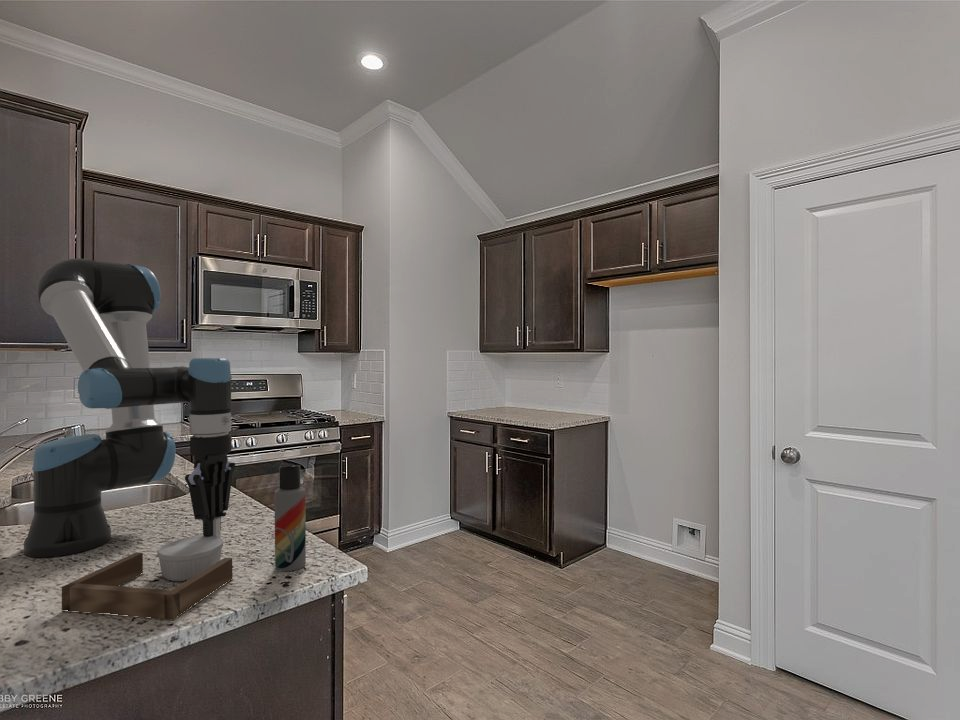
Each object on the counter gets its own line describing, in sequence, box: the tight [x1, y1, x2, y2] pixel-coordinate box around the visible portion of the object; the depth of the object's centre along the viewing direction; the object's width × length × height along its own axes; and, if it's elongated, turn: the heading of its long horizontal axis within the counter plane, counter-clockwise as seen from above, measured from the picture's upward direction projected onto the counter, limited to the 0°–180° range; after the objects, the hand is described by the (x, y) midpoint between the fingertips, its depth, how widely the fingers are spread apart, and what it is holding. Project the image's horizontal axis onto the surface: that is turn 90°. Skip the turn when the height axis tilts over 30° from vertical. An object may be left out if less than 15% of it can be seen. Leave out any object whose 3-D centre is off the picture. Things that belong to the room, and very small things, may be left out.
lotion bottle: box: [274, 464, 307, 572], centre depth 104 cm, size 6×6×20 cm
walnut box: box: [61, 552, 233, 620], centre depth 92 cm, size 20×15×4 cm
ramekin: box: [156, 535, 224, 582], centre depth 102 cm, size 11×11×5 cm
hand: (212, 550), depth 108 cm, fingers closed
